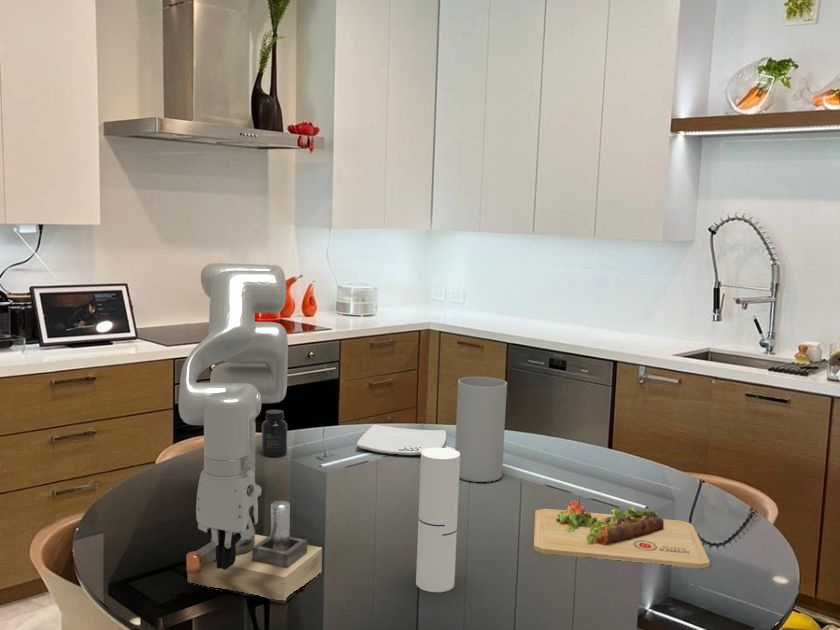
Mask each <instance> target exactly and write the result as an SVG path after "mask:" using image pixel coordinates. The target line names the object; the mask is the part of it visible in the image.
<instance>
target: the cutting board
mask: <svg viewBox="0 0 840 630" xmlns="http://www.w3.org/2000/svg"><path fill="white" fill-rule="evenodd" d="M585 510H586V508H585V507H584V506H583V505H582V504H580V503H579V502H578V501H577V500H575V499H572V500H570V501H569V503H568V506H567V508H566V509H552V508H541V509H537V510H534V511H535V512H534V527H533V528H534V532H533V550H534V551H535V550H536V551H535V552H538V553H541V554H543V555H551V554H552V555H553V554H556V555H555V556H562V555H567V556H566V557H572V556H574V557H573V558H582V557H591V558H590V559H593V558H598V559H597V560H603V559H609V560H608V561H614V560H621V561H620V562H624V561H632V562H631V563H634V562H642V563H641V564H645V563H657V564H665V565H664V566H666V565H672V566H671V567H676V566H677V568H687V569H700V570H701V569H705V568H710V566H711V562H710V561H711V560H710V558H709V557H708V554H707V553H706V550H705V548H704V545H703V543H702V541H701V539H700V537H699V535H698V533H697V530H696V528H695V526H694V523H690V522H688V521H684V520H676V519H665V518H661V517H659V516H658V513H656V512H654V511H653V510H651V509H649V510H647V511H646V510H643V511H640V510H639V509H638V508H637V507H635V506H632V507H628V508H627V509H626V511H624V512H622V511H621V510H620V509H616V508H614V509H610V514H607V513H597V512H587V511H586V512H585ZM611 513H612V514H611ZM557 554H559V555H557ZM611 559H612V560H611Z"/></svg>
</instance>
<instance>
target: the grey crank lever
mask: <svg viewBox="0 0 840 630" xmlns="http://www.w3.org/2000/svg"><path fill="white" fill-rule="evenodd" d="M253 529H254V536H253V537H252V538H250V539H244V540H242V539H241V540H239V542H237V543H236V554H241V553H245V552H248V551H250V550H252V548H253V547H254V546H255V534H256V528H255V527H254V526H253ZM215 559H216V546H215V545H213V541H212V538H211V537H210V542H209V543H207V544H205V545H204V546H202V547H200V548H199V549H197V550H195V551H194V550H193V551H189V552H188V553H186V573H187V574H188V573H189V574H198V573H200V572H202V568H203V567H205V566H206V565H208V564H209V563H211V562H212V561H214V560H215Z"/></svg>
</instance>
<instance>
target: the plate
mask: <svg viewBox="0 0 840 630" xmlns="http://www.w3.org/2000/svg"><path fill="white" fill-rule="evenodd" d="M446 441H447V431H446V430H444V429H441V430H440V429H438V430H437V429H436V430H435V429H413V428H404V427H394V426H387V425H381V424H380V425H379V424H373V425H372V426H371V427H370V428H369V429H368V430H367V431H365V433H364V434H362V436H361V437H360V438H359V439H358V441H357V443H356V446H357V447H358V448H359V449H363V450H367V451H372V452H376V453H380V454H386V453H387V455H393V454H398V455H397V456H421V451H422V450H424V449H427V448H438V447H439V448H444V446H445V443H446ZM404 446H405V447H406V448H407V449H409V450H411V449H410V448H411V447H412V448H413V449H414V451H406V450H405V451H399V450H398V449H404V448H405V447H404ZM409 446H410V447H409ZM415 447H417V448H418V449H419V450H418V451H415V450H417V449H415ZM419 447H421V448H419Z"/></svg>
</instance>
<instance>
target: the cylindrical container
mask: <svg viewBox="0 0 840 630" xmlns="http://www.w3.org/2000/svg"><path fill="white" fill-rule="evenodd" d="M459 470H460V453H459V452H458V451H456V450H455V449H453V448H449V447H442V448H439V447H438V448H427V449H424V450H422V451H421V455H420V470H419V472H420V473H419V493H418V494H419V495H418V496H419V497H418V522H417V525H418V526H417V550H416V551H417V552H416V573H415V574H416V577H415V584H416V586H417V588H419V589H420V590H423V591H426V592H430V593H443V592H444V593H445V592H449V591H451V590H452V589H453V588H454V587H455V579H456V578H455V577H456V576H455V575H456V559H457V558H456V555H457V552H456V551H457V537H458V536H457V533H458V531H457V530H458V511H459V509H458V508H459V493H460V491H459V489H460V478H459Z"/></svg>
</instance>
